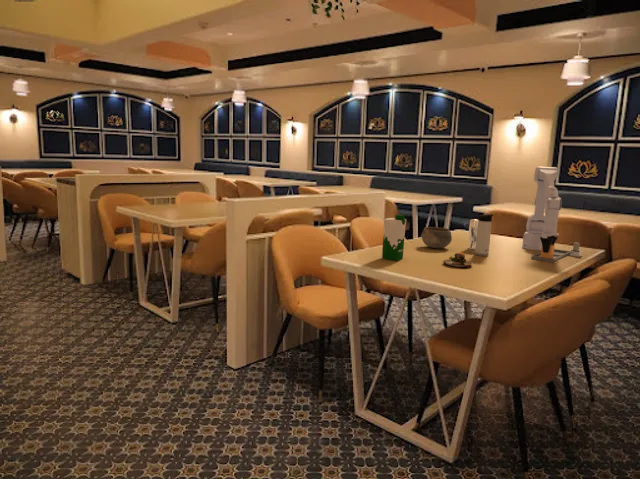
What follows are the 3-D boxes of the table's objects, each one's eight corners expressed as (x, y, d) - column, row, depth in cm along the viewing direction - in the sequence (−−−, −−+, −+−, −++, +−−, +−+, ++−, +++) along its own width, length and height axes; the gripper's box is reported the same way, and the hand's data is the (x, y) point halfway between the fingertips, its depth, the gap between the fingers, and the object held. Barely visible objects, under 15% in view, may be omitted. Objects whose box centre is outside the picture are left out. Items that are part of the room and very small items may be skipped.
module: (540, 256, 237) (542, 243, 236) (543, 255, 240) (545, 242, 239) (550, 258, 234) (552, 244, 233) (553, 257, 237) (554, 243, 236)
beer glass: (464, 247, 259) (467, 219, 257) (474, 247, 262) (477, 218, 260) (473, 250, 253) (476, 221, 251) (484, 249, 256) (487, 220, 254)
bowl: (416, 245, 260) (417, 226, 258) (442, 245, 264) (443, 226, 263) (429, 250, 247) (431, 230, 245) (456, 250, 251) (458, 230, 250)
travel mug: (489, 256, 237) (494, 215, 234) (475, 255, 238) (479, 214, 235) (488, 254, 243) (492, 213, 240) (474, 253, 245) (478, 212, 241)
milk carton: (398, 261, 217) (401, 216, 213) (379, 258, 221) (381, 214, 218) (405, 258, 224) (408, 214, 221) (386, 255, 228) (389, 212, 225)
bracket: (568, 256, 247) (568, 250, 246) (570, 255, 250) (571, 249, 250) (578, 258, 244) (579, 252, 243) (581, 256, 247) (581, 250, 247)
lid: (531, 259, 236) (531, 255, 236) (540, 255, 246) (540, 252, 245) (553, 262, 230) (554, 259, 229) (561, 259, 239) (562, 255, 239)
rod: (571, 256, 247) (573, 242, 246) (572, 255, 249) (575, 242, 247) (576, 257, 245) (578, 243, 244) (578, 256, 247) (580, 243, 246)
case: (539, 255, 245) (540, 252, 245) (550, 251, 258) (550, 248, 257) (561, 259, 239) (561, 255, 238) (570, 255, 251) (571, 251, 251)
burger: (437, 263, 218) (439, 246, 216) (460, 262, 222) (461, 246, 221) (454, 269, 207) (455, 252, 205) (477, 268, 211) (479, 251, 210)
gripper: (555, 225, 226) (551, 254, 229) (564, 223, 237) (560, 251, 240) (539, 223, 231) (535, 252, 233) (548, 221, 242) (545, 249, 244)
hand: (547, 251), depth 237 cm, fingers open, 5 cm apart
